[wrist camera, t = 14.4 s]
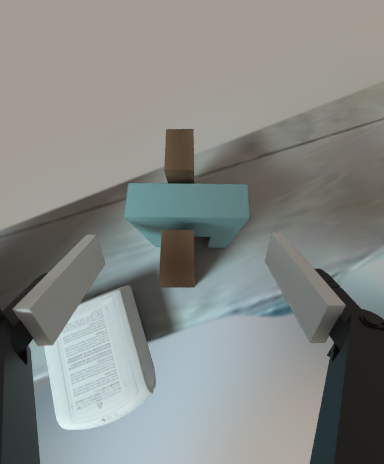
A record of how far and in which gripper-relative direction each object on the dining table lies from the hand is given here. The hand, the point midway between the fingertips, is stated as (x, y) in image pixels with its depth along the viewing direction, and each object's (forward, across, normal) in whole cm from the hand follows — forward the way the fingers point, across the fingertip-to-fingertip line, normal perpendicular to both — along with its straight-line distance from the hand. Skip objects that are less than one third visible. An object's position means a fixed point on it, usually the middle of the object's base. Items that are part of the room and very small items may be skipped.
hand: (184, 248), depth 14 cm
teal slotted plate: (+11, 0, -6) cm, 12 cm away
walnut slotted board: (+11, 0, -5) cm, 12 cm away
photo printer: (+4, -12, -10) cm, 16 cm away
